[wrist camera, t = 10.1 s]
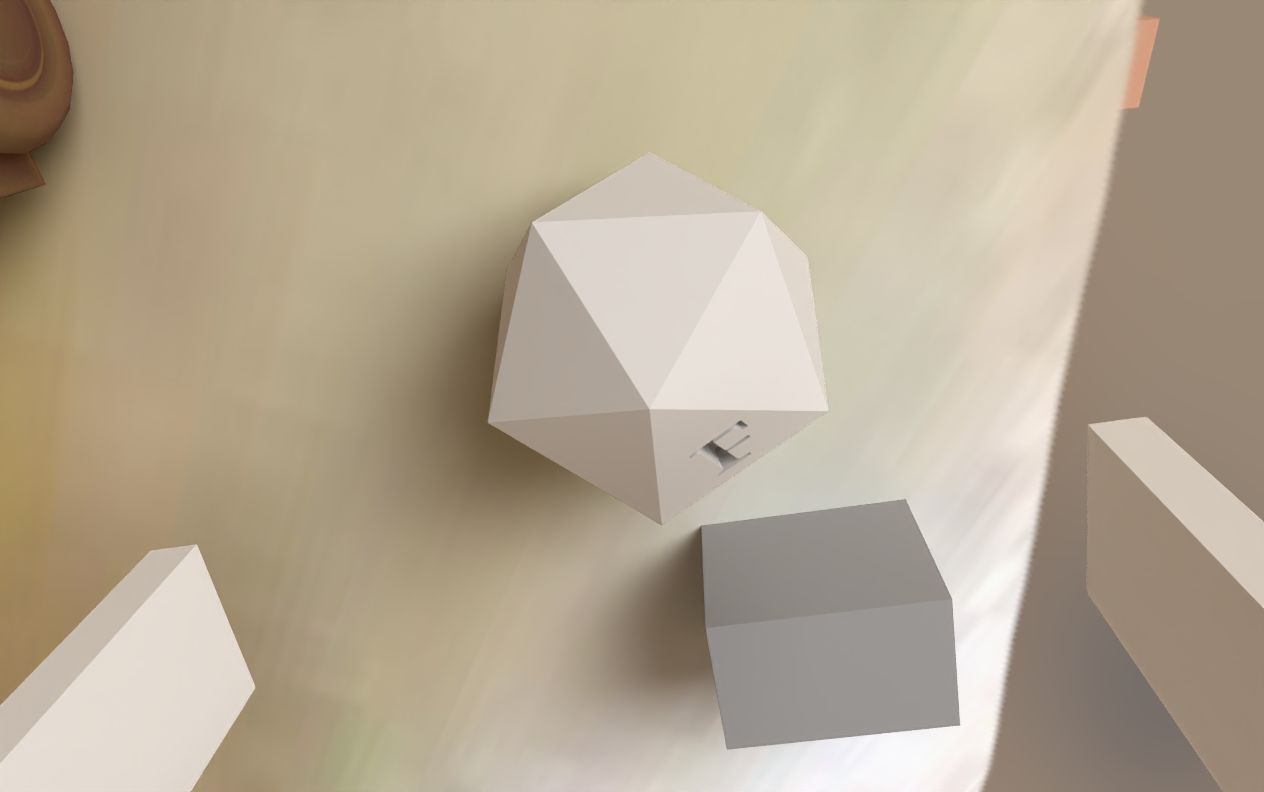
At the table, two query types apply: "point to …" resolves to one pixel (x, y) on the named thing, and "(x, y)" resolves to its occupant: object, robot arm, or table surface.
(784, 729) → the gray rectangular block
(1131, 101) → the salmon pink block
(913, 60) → the table surface
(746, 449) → the die
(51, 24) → the wooden toy train
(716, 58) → the table surface
